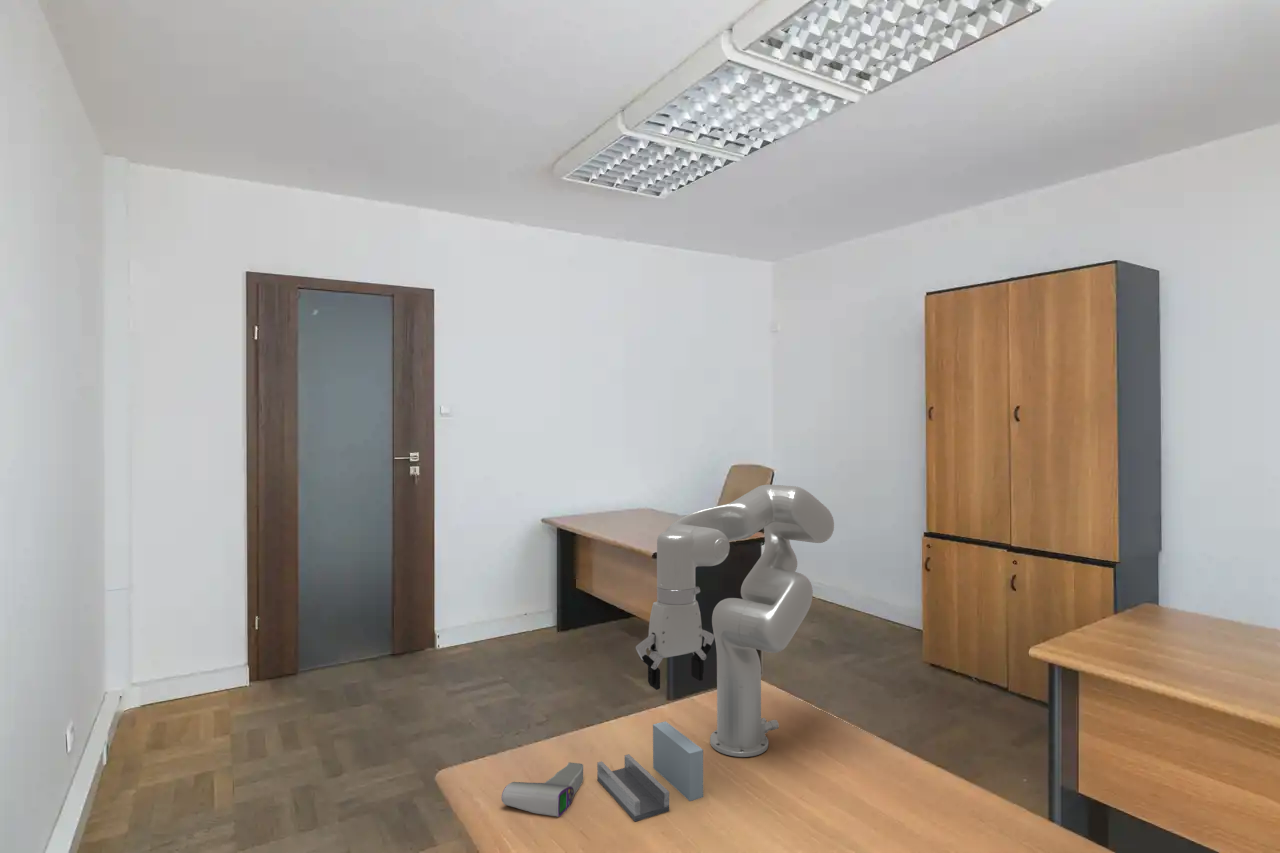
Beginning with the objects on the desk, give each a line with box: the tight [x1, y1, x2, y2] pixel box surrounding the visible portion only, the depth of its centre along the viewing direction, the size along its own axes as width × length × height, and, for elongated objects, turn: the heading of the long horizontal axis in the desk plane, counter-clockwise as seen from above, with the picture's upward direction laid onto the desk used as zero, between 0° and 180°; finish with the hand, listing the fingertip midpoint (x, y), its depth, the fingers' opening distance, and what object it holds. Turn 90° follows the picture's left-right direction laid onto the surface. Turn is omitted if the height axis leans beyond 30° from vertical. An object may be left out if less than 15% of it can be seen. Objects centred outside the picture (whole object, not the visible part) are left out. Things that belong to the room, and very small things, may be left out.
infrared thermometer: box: [501, 761, 584, 818], centre depth 130 cm, size 5×12×15 cm
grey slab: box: [652, 720, 704, 802], centre depth 134 cm, size 14×3×9 cm, turn 28°
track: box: [596, 754, 670, 822], centre depth 130 cm, size 16×7×4 cm, turn 28°
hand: (676, 682), depth 134 cm, fingers open, 9 cm apart
